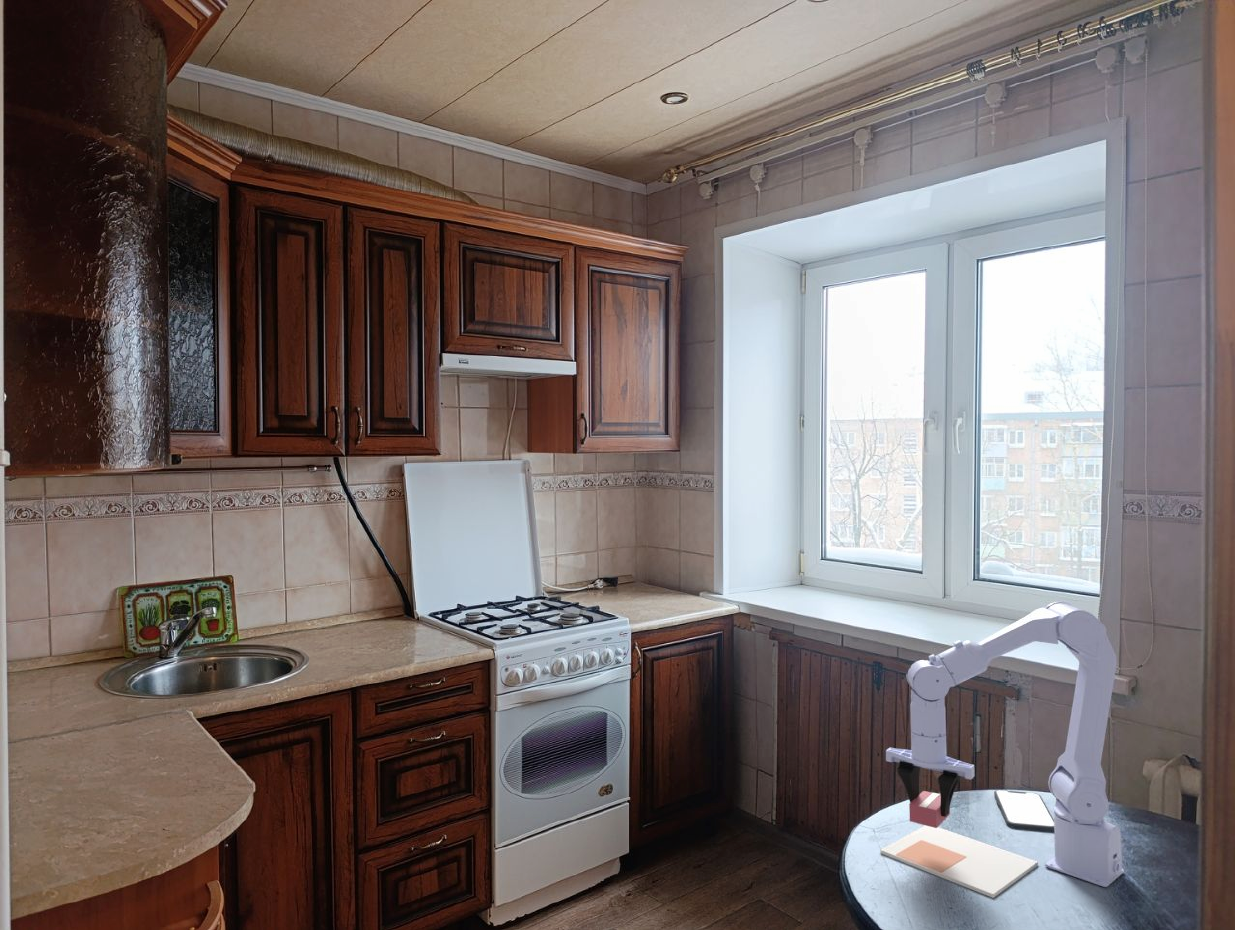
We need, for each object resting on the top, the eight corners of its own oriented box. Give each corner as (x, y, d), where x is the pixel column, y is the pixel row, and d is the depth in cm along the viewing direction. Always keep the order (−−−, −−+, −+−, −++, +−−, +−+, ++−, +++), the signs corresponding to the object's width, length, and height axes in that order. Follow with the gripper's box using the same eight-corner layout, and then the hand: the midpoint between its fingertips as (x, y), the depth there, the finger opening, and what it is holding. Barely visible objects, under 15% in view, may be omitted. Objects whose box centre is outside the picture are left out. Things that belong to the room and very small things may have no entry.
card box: (936, 828, 136) (936, 809, 136) (909, 821, 139) (909, 803, 139) (949, 814, 141) (949, 796, 141) (923, 807, 144) (923, 790, 144)
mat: (1038, 865, 137) (1037, 861, 137) (993, 897, 127) (993, 893, 127) (928, 826, 153) (928, 823, 153) (880, 853, 142) (880, 849, 142)
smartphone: (1059, 836, 149) (1040, 800, 165) (1059, 827, 149) (1040, 792, 165) (1007, 831, 152) (992, 796, 167) (1007, 823, 152) (992, 788, 167)
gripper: (979, 734, 139) (980, 813, 138) (895, 718, 148) (897, 793, 148) (966, 745, 133) (968, 827, 133) (880, 728, 142) (882, 805, 142)
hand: (929, 810), depth 140 cm, fingers closed on card box, 4 cm apart
